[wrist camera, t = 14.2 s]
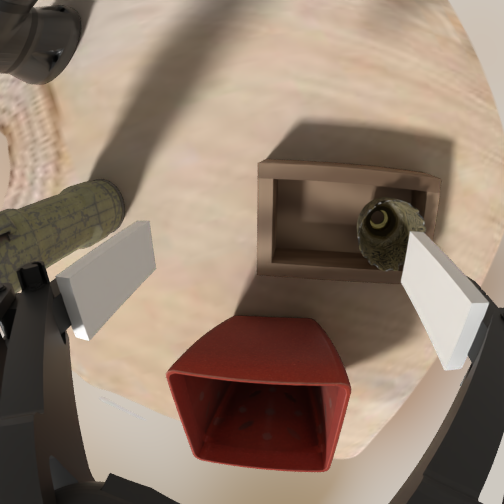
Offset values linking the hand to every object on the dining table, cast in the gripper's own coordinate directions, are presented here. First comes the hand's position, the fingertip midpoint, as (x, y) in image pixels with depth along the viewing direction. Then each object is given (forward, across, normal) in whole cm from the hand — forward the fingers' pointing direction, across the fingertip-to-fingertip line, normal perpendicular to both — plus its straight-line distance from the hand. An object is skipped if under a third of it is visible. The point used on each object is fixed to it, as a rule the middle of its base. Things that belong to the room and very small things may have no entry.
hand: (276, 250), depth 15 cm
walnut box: (+24, +7, -4) cm, 25 cm away
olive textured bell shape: (+23, +11, -4) cm, 25 cm away
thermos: (+24, -28, -4) cm, 38 cm away
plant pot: (+23, -2, -26) cm, 35 cm away
